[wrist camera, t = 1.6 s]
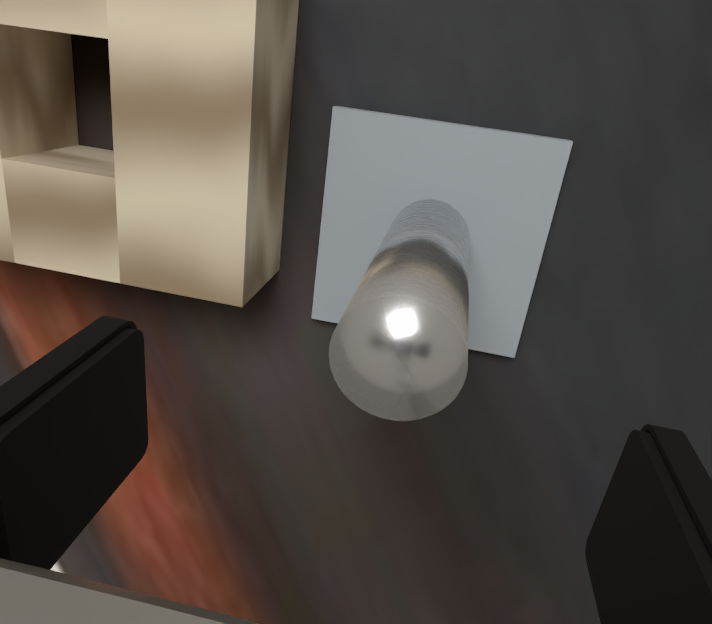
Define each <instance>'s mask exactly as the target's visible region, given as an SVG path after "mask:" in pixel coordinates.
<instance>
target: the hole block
mask: <svg viewBox="0 0 712 624" xmlns="http://www.w3.org/2000/svg"><path fill="white" fill-rule="evenodd" d="M298 7H299V0H0V260H3V261H8V262H13V263H18V264H23V265H28V266H34V267H39V268H44V269H49V270H54V271H59V272H64V273H69V274H75V275H80V276H85V277H90V278H95V279H100V280H105V281H110V282H115V283H121V284H126V285H131V286H136V287H141V288H146V289H151V290H156V291H162V292H167V293H172V294H177V295H182V296H187V297H192V298H197V299H203V300H208V301H213V302H218V303H223V304H228V305H233V306H238V307H243V306H244V305H245V304H246V303H247V302H248V301H249V300H250V299H251V298H252V297H253V296H254V295H255V294H256V293H257V292H258V291H259V290H260V289H261V288H262V287H263V286H264V285H265V284H266V283H267V282H268V281H269V280H270V279H271V278H272V277H273V276H274V275H275V274H276V273H277V272H278V271H279V267H280V254H281V240H282V226H283V213H284V199H285V185H286V172H287V158H288V144H289V130H290V117H291V103H292V89H293V76H294V62H295V48H296V35H297V21H298ZM71 34H76V35H83V36H91V37H98V38H105V39H108V46H109V67H110V87H111V107H112V128H113V148H114V151H113V150H107V149H101V148H94V147H88V146H82V145H79V139H78V126H77V112H76V99H75V85H74V71H73V58H72V44H71Z"/></svg>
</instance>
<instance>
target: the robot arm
mask: <svg viewBox="0 0 712 624" xmlns="http://www.w3.org/2000/svg"><path fill="white" fill-rule="evenodd" d="M147 445H148V423H147V401H146V379H145V356H144V337H143V333H142V332H141V331H140V330H137V328H136V325H135V323H133V322H132V321H128V320H123V319H118V318H113V317H108V316H102V317H100V318H98V319H97V320H95V321H94V322H93V323H91V324H90V325H88V326H87V327H85V328H84V329H82V330H81V331H80V332H78V333H77V334H75V335H74V336H72V337H71V338H69V339H68V340H67V341H65V342H64V343H62V344H61V345H59V346H58V347H56V348H55V349H54V350H52V351H51V352H49V353H48V354H46V355H45V356H43V357H42V358H41V359H39V360H38V361H36V362H35V363H33V364H32V365H31V366H29V367H28V368H26V369H25V370H23V371H22V372H20V373H19V374H18V375H16V376H15V377H13V378H12V379H10V380H9V381H7V382H6V383H5V384H3V385H2V386H0V624H260V623H256V622H253V621H249V620H245V619H241V618H237V617H233V616H229V615H225V614H222V613H218V612H214V611H210V610H206V609H202V608H198V607H194V606H190V605H186V604H182V603H179V602H175V601H171V600H167V599H163V598H159V597H155V596H151V595H147V594H143V593H139V592H135V591H131V590H127V589H123V588H119V587H115V586H111V585H107V584H103V583H99V582H95V581H91V580H87V579H83V578H79V577H75V576H71V575H67V574H63V573H59V572H55V571H51V570H50V569H51V568H52V567H53V565H54V564H55V563H56V562H57V561H58V559H59V558H60V557H61V556H62V555H63V553H64V552H65V551H66V550H67V548H68V547H69V546H70V545H71V544H72V542H73V541H74V540H75V539H76V538H77V536H78V535H79V534H80V533H81V532H82V530H83V529H84V528H85V527H86V525H87V524H88V523H89V522H90V521H91V519H92V518H93V517H94V516H95V515H96V513H97V512H98V511H99V510H100V508H101V507H102V506H103V505H104V504H105V502H106V501H107V500H108V499H109V498H110V496H111V495H112V494H113V493H114V492H115V490H116V489H117V488H118V487H119V485H120V484H121V483H122V482H123V481H124V479H125V478H126V477H127V476H128V475H129V473H130V472H131V471H132V470H133V469H134V467H135V466H136V465H137V464H138V462H139V461H140V460H141V459H142V457H143V456H144V454H145V452H146V449H147ZM586 562H587V566H588V570H589V574H590V579H591V583H592V587H593V592H594V596H595V600H596V604H597V609H598V613H599V617H600V622H601V624H712V480H711V478H710V477H709V475H708V473H707V471H706V470H705V468H704V466H703V464H702V463H701V461H700V459H699V458H698V456H697V454H696V452H695V451H694V449H693V447H692V445H691V444H690V442H689V440H688V439H687V437H686V435H685V434H684V433H683V432H682V431H679V430H674V429H669V428H664V427H659V426H654V425H649V424H647V425H645V426H644V427H643V428H642V429H641V431H638V430H633V431H632V432H631V433H630V435H629V437H628V439H627V442H626V444H625V447H624V449H623V452H622V454H621V457H620V459H619V462H618V464H617V467H616V469H615V471H614V474H613V476H612V479H611V481H610V484H609V486H608V489H607V491H606V494H605V496H604V499H603V501H602V504H601V506H600V509H599V511H598V514H597V516H596V519H595V521H594V524H593V526H592V529H591V531H590V534H589V536H588V539H587V543H586Z"/></svg>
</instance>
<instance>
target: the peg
mask: <svg viewBox="0 0 712 624" xmlns="http://www.w3.org/2000/svg"><path fill="white" fill-rule="evenodd" d="M468 311H469V230H468V226H467V224H466V221H465V220H464V218H463V216H462V215H461V214H460V213H459V212H458V211H457V210H456V209H455V208H454V207H453V206H451V205H449V204H447V203H445V202H443V201H439V200H433V199H425V200H419V201H416V202H413V203H411V204H409V205H408V206H406V207H405V208H403V209H402V210H401V211H400V212H399V213H398V214H397V216H396V217H395V219H394V220H393V222H392V224H391V226H390V228H389V230H388V232H387V233H386V235H385V237H384V239H383V241H382V243H381V245H380V247H379V248H378V250H377V252H376V254H375V256H374V258H373V260H372V261H371V263H370V265H369V267H368V269H367V271H366V273H365V274H364V276H363V278H362V280H361V282H360V284H359V286H358V287H357V289H356V291H355V293H354V295H353V297H352V299H351V300H350V302H349V304H348V306H347V308H346V310H345V312H344V313H343V315H342V317H341V319H340V321H339V323H338V325H337V326H336V328H335V330H334V332H333V335H332V338H331V341H330V346H329V363H330V368H331V372H332V374H333V377H334V379H335V381H336V383H337V385H338V387H339V388H340V389H341V391H342V392H343V394H344V395H345V396H346V397H347V398H348V399H349V400H350V401H351V402H353V403H354V404H355V405H356V406H358V407H359V408H361V409H362V410H364V411H366V412H368V413H370V414H372V415H374V416H377V417H380V418H384V419H388V420H394V421H412V420H418V419H422V418H425V417H429V416H431V415H433V414H435V413H437V412H439V411H441V410H442V409H444V408H445V407H446V406H448V405H449V404H450V403H451V402H452V401H453V400H454V399H455V398H456V396H457V395H458V393H459V392H460V390H461V388H462V386H463V384H464V382H465V379H466V375H467V369H468Z"/></svg>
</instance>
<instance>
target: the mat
mask: <svg viewBox="0 0 712 624" xmlns="http://www.w3.org/2000/svg"><path fill="white" fill-rule="evenodd" d="M572 144H573V141H571V140H566V139H559V138H552V137H546V136H539V135H532V134H525V133H518V132H511V131H505V130H498V129H491V128H484V127H477V126H471V125H464V124H457V123H450V122H443V121H437V120H430V119H423V118H416V117H409V116H402V115H396V114H389V113H382V112H375V111H368V110H362V109H355V108H348V107H341V106H333V110H332V120H331V130H330V140H329V150H328V160H327V170H326V180H325V189H324V199H323V209H322V219H321V229H320V239H319V249H318V259H317V268H316V278H315V288H314V298H313V308H312V319H317V320H322V321H327V322H332V323H339V321H340V319H341V317H342V315H343V313H344V312H345V310H346V308H347V306H348V304H349V302H350V300H351V299H352V297H353V295H354V293H355V291H356V289H357V287H358V286H359V284H360V282H361V280H362V278H363V276H364V274H365V273H366V271H367V269H368V267H369V265H370V263H371V261H372V260H373V258H374V256H375V254H376V252H377V250H378V248H379V247H380V245H381V243H382V241H383V239H384V237H385V235H386V233H387V232H388V230H389V228H390V226H391V224H392V222H393V220H394V219H395V217H396V216H397V214H398V213H399V212H400V211H401V210H402V209H403V208H405V207H406V206H408V205H409V204H411V203H413V202H416V201H419V200H425V199H433V200H439V201H443V202H445V203H447V204H449V205H451V206H453V207H454V208H455V209H456V210H457V211H458V212H459V213H460V214H461V215H462V216H463V218H464V220H465V221H466V224H467V226H468V230H469V311H468V349H471V350H476V351H481V352H486V353H492V354H497V355H502V356H507V357H512V358H515V354H516V350H517V347H518V343H519V339H520V336H521V332H522V328H523V325H524V321H525V317H526V314H527V310H528V306H529V303H530V299H531V295H532V291H533V288H534V284H535V280H536V277H537V273H538V269H539V266H540V262H541V258H542V255H543V251H544V247H545V244H546V240H547V236H548V232H549V229H550V225H551V221H552V218H553V214H554V210H555V207H556V203H557V199H558V196H559V192H560V188H561V184H562V181H563V177H564V173H565V170H566V166H567V162H568V159H569V155H570V151H571V148H572Z"/></svg>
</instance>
